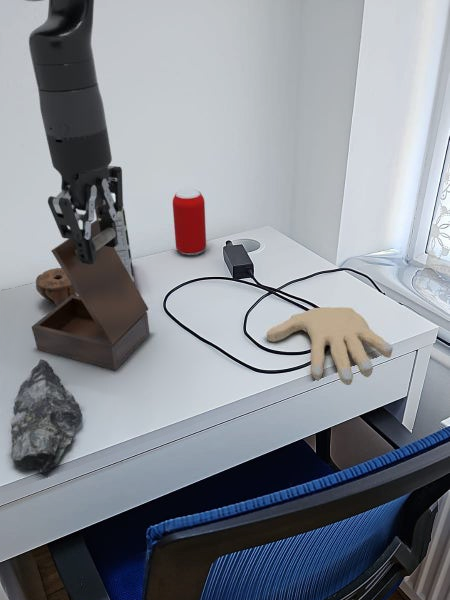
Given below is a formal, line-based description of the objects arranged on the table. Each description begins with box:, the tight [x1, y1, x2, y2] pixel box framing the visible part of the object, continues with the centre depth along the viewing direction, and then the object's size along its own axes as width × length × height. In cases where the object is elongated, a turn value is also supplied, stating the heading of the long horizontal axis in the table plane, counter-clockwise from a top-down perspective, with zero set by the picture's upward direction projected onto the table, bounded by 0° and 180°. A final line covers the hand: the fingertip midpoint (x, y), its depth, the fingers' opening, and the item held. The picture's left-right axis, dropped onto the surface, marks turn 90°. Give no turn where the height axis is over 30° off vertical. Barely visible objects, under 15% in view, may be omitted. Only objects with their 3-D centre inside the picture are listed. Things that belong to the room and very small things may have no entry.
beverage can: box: [172, 188, 207, 256], centre depth 115 cm, size 6×6×12 cm
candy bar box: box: [94, 193, 136, 285], centre depth 104 cm, size 11×5×16 cm, turn 13°
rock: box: [10, 358, 83, 474], centre depth 79 cm, size 9×22×4 cm, turn 15°
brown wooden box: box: [31, 295, 150, 371], centre depth 93 cm, size 15×11×4 cm
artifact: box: [35, 267, 78, 307], centre depth 102 cm, size 8×8×5 cm
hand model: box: [266, 306, 393, 386], centre depth 91 cm, size 19×5×20 cm
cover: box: [51, 219, 149, 345], centre depth 84 cm, size 15×11×5 cm
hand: (99, 253), depth 82 cm, fingers closed on cover, 5 cm apart
